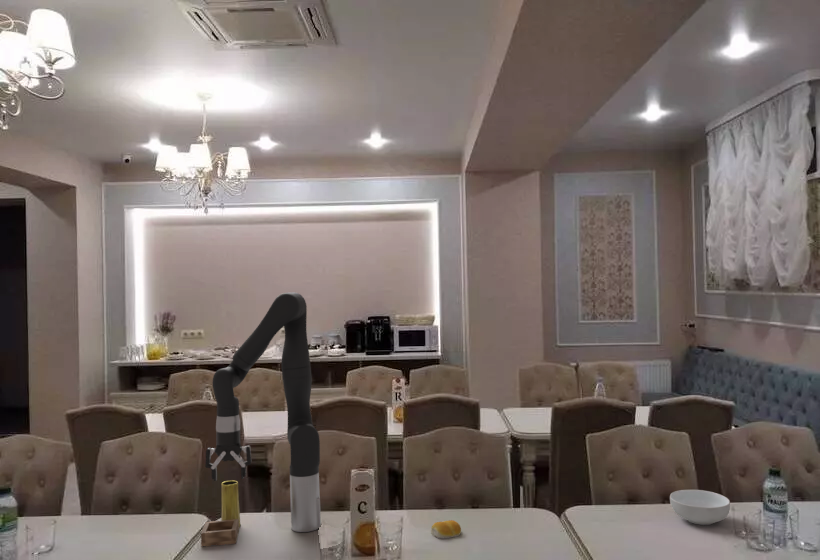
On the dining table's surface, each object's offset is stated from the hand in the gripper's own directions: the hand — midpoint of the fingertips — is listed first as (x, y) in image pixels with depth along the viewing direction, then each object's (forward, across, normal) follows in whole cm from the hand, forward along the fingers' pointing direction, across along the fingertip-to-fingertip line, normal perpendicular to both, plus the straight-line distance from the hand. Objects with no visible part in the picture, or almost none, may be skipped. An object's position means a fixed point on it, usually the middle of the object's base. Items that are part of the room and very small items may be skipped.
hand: (228, 479), depth 206 cm
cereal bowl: (+14, -144, +35) cm, 149 cm away
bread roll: (+15, -66, +24) cm, 72 cm away
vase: (+16, 0, 0) cm, 16 cm away
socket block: (+15, +2, +10) cm, 18 cm away
